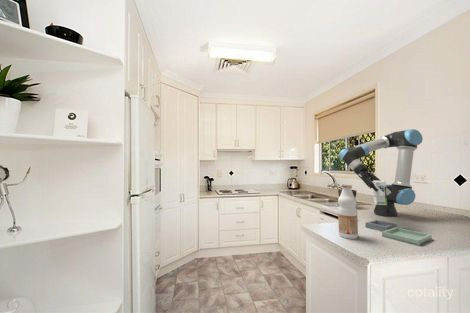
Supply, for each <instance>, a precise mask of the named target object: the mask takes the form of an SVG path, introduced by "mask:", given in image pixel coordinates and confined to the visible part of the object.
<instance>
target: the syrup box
mask: <svg viewBox="0 0 470 313" xmlns="http://www.w3.org/2000/svg"><path fill="white" fill-rule="evenodd" d="M372 182H373V183H374V186H375V185H376V186H377V187H378V188H379V189H380V190H381V191H382V192H384V193H385V194H383V195H382V196H380V195H379V194H378V193H377V192H376V191H374V190H373V189H372V190H373V192H372V193H373V203H374V204H375V206H376V205H387V193H386V185H387V181H386V180H381V181H372Z"/></svg>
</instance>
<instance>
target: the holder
mask: <svg viewBox="0 0 470 313" xmlns="http://www.w3.org/2000/svg"><path fill="white" fill-rule="evenodd" d="M366 227H367V229H370V230H375V231H379V232H383V231H386V230H389V229H392V228H395V227H397V228H398V223H393V222H390V221H389V222H388V221H384V220H378V219H374V220H370V221H366V222H365V228H366Z"/></svg>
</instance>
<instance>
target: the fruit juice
mask: <svg viewBox="0 0 470 313" xmlns="http://www.w3.org/2000/svg"><path fill="white" fill-rule="evenodd" d="M352 188H353V186H352V185H351V184H341V189H342V192H341V195H340V197H339V196H338V199H337V202H338V209H337V214H338V215H337V216H338V219H337V220H338V236H339V237H341V238H344V239H349V240H356V239H358V237H359V225H358V223H359V222H358V219H359V218H358V209H357V204H358V203H357V202H358V201H357V198H355V197H354V195H353V192H352V190H353V189H352Z"/></svg>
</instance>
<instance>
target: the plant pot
mask: <svg viewBox="0 0 470 313" xmlns="http://www.w3.org/2000/svg"><path fill="white" fill-rule="evenodd" d="M342 189H343V188H340V189H338V190H337V193H338V194H337V195H338V198H339V197H340V195H341V192H342ZM351 190H352V192H353V195H354V197H355V199H357V198H356V197H357V190H356V189H351Z"/></svg>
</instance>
